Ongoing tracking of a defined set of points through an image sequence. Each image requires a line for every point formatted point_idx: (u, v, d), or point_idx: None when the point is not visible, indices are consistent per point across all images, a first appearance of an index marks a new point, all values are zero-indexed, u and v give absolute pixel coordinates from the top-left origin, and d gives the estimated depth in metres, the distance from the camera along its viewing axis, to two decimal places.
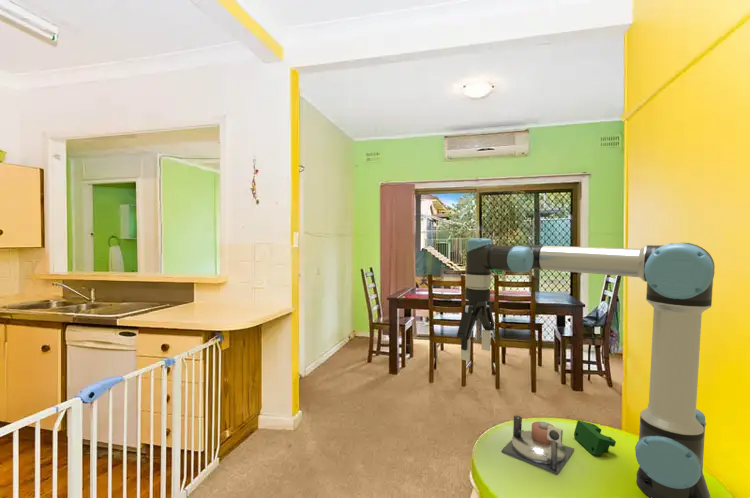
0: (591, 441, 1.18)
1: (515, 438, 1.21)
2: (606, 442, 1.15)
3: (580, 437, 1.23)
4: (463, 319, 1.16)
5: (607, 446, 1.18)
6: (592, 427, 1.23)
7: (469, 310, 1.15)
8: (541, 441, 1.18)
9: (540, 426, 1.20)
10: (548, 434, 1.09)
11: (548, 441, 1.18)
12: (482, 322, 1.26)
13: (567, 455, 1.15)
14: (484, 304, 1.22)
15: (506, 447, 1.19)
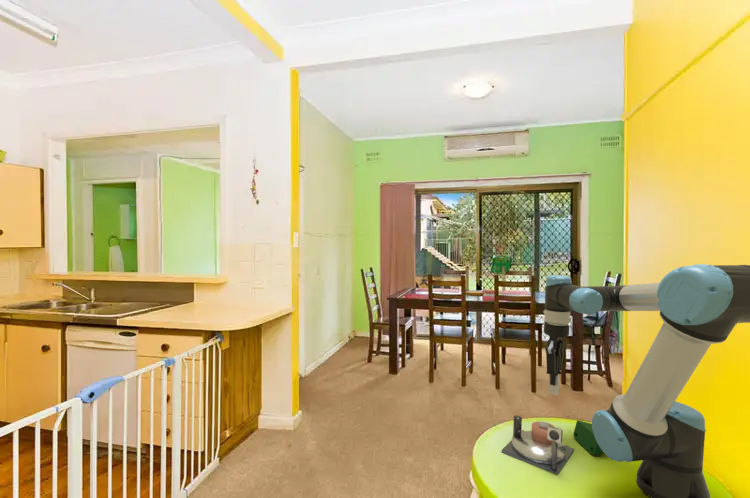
0: (590, 441, 1.18)
1: (515, 438, 1.21)
2: None
3: (579, 437, 1.23)
4: (549, 359, 1.24)
5: None
6: (591, 427, 1.23)
7: (552, 352, 1.22)
8: (541, 441, 1.18)
9: (540, 426, 1.20)
10: (548, 434, 1.09)
11: (548, 441, 1.18)
12: None
13: (567, 455, 1.15)
14: (562, 337, 1.28)
15: (506, 447, 1.19)
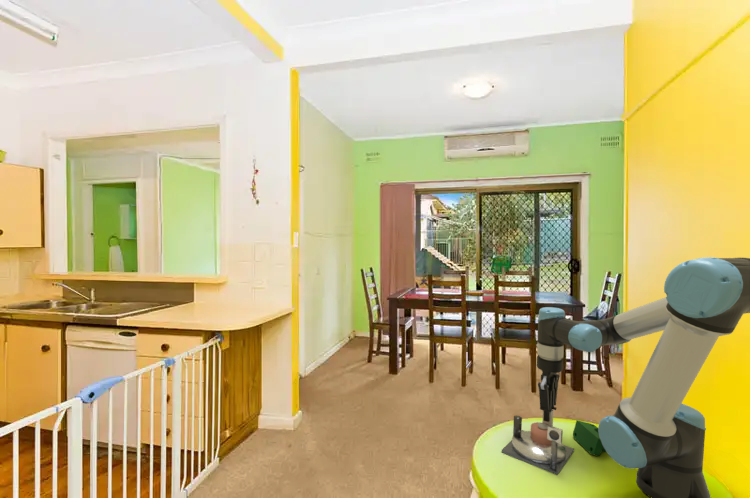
0: (589, 441, 1.18)
1: (515, 438, 1.21)
2: None
3: (578, 437, 1.23)
4: (542, 395, 1.20)
5: None
6: (591, 427, 1.23)
7: (545, 389, 1.18)
8: (540, 442, 1.18)
9: (539, 427, 1.20)
10: (548, 434, 1.09)
11: (547, 442, 1.17)
12: None
13: (567, 455, 1.15)
14: None
15: (506, 447, 1.19)
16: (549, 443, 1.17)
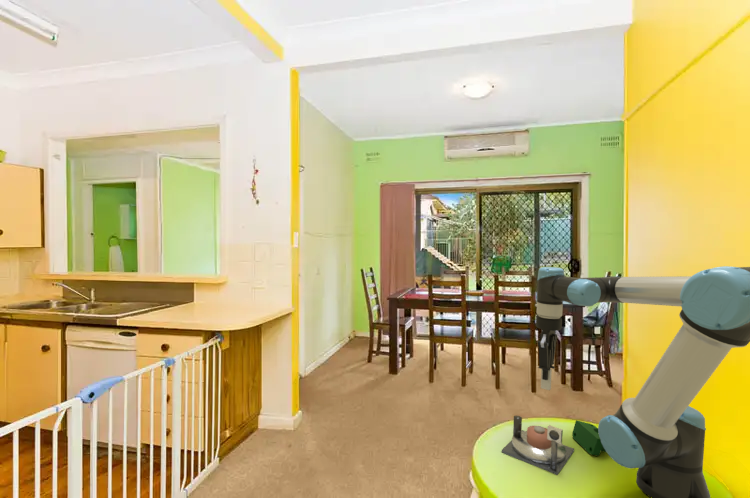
0: (589, 441, 1.18)
1: (515, 438, 1.21)
2: None
3: (578, 437, 1.23)
4: (541, 354, 1.20)
5: None
6: (590, 427, 1.23)
7: (545, 346, 1.19)
8: (536, 445, 1.16)
9: (536, 430, 1.18)
10: (548, 434, 1.09)
11: (544, 446, 1.15)
12: None
13: (567, 455, 1.15)
14: (554, 331, 1.25)
15: (506, 447, 1.19)
16: (545, 447, 1.15)
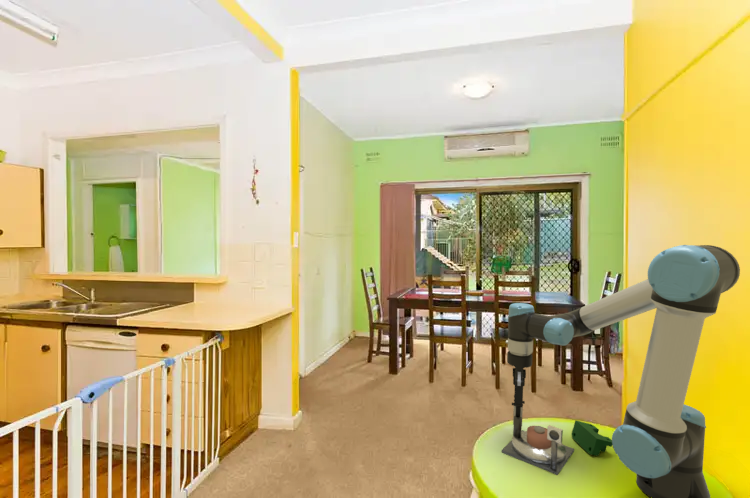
0: (588, 441, 1.18)
1: (515, 438, 1.21)
2: (603, 442, 1.15)
3: (577, 437, 1.23)
4: (517, 392, 1.20)
5: (604, 446, 1.18)
6: (589, 427, 1.23)
7: (522, 385, 1.18)
8: (536, 445, 1.16)
9: (536, 430, 1.18)
10: (548, 434, 1.09)
11: (544, 446, 1.15)
12: None
13: (567, 455, 1.15)
14: None
15: (506, 447, 1.19)
16: (545, 447, 1.15)
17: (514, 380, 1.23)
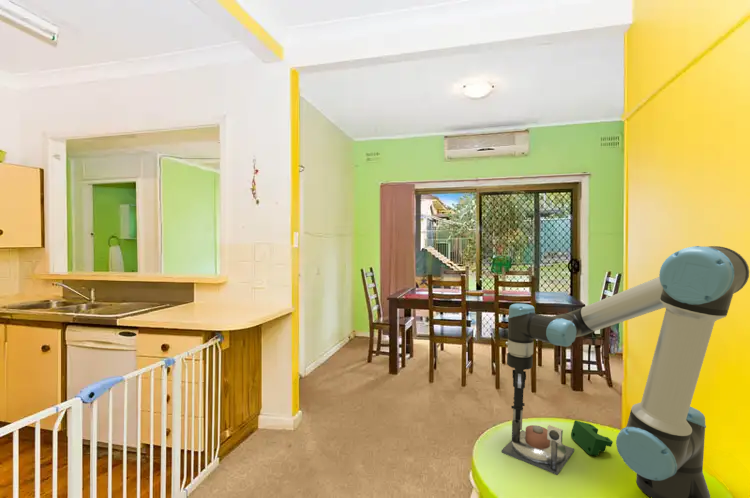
0: (587, 441, 1.18)
1: (517, 444, 1.18)
2: (603, 442, 1.15)
3: (577, 437, 1.23)
4: (517, 394, 1.17)
5: (604, 446, 1.18)
6: (589, 427, 1.23)
7: (522, 387, 1.16)
8: (541, 446, 1.15)
9: (536, 431, 1.17)
10: (548, 434, 1.09)
11: (547, 445, 1.16)
12: None
13: (567, 455, 1.15)
14: None
15: (506, 447, 1.19)
16: (548, 445, 1.16)
17: (514, 382, 1.20)
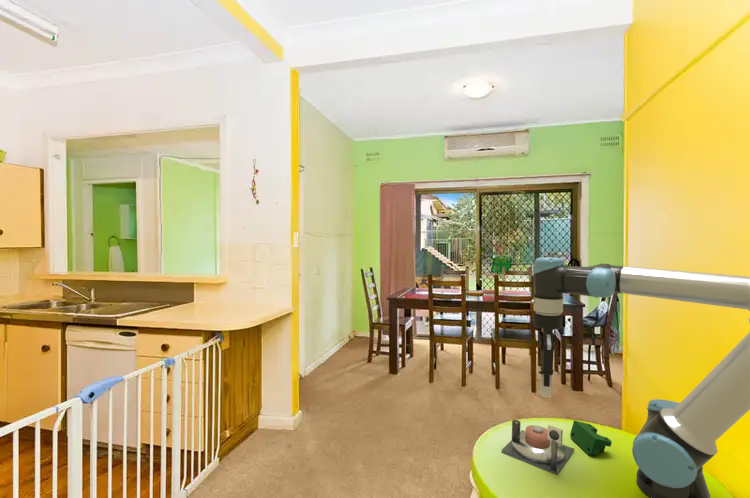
0: (587, 441, 1.18)
1: (517, 444, 1.18)
2: (602, 442, 1.15)
3: (576, 437, 1.23)
4: (546, 357, 1.04)
5: (603, 446, 1.18)
6: (588, 427, 1.23)
7: (552, 348, 1.03)
8: (541, 446, 1.15)
9: (536, 431, 1.17)
10: (548, 434, 1.09)
11: (547, 445, 1.16)
12: None
13: (567, 455, 1.15)
14: None
15: (506, 447, 1.19)
16: (548, 445, 1.16)
17: (542, 345, 1.07)
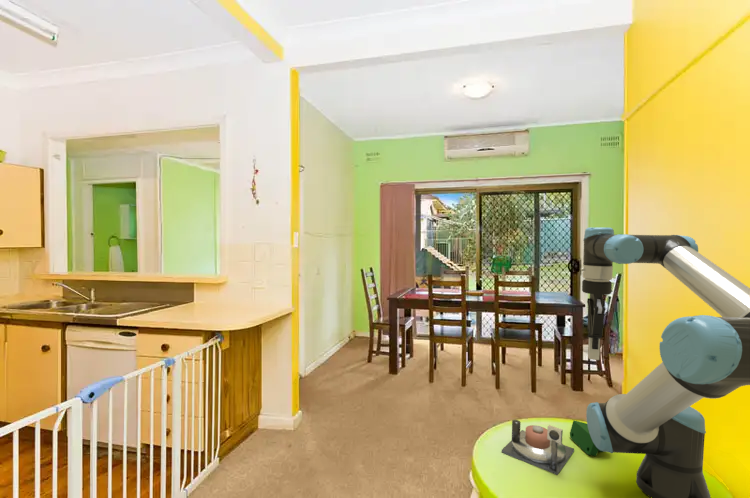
0: (586, 441, 1.18)
1: (517, 444, 1.18)
2: None
3: (575, 437, 1.23)
4: (597, 320, 1.10)
5: None
6: (587, 427, 1.23)
7: (603, 312, 1.09)
8: (541, 446, 1.15)
9: (536, 431, 1.17)
10: (548, 434, 1.09)
11: (547, 445, 1.16)
12: None
13: (567, 455, 1.15)
14: None
15: (506, 447, 1.19)
16: (548, 445, 1.16)
17: (591, 310, 1.13)
